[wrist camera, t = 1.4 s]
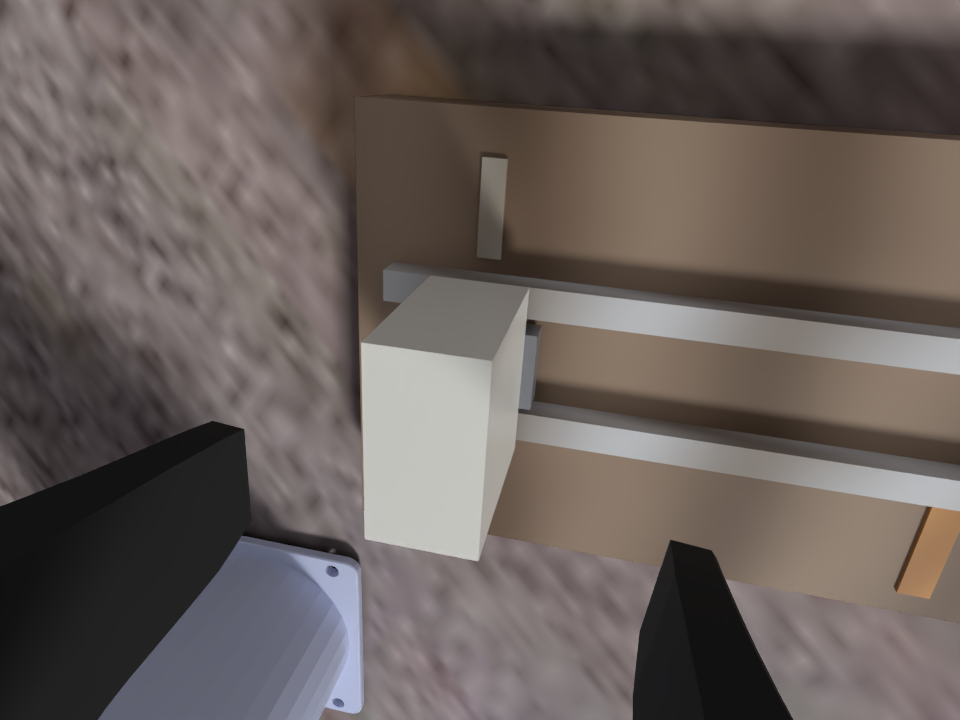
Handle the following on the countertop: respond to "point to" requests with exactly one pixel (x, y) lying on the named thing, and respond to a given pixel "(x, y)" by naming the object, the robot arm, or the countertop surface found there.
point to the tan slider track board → (701, 330)
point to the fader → (444, 412)
